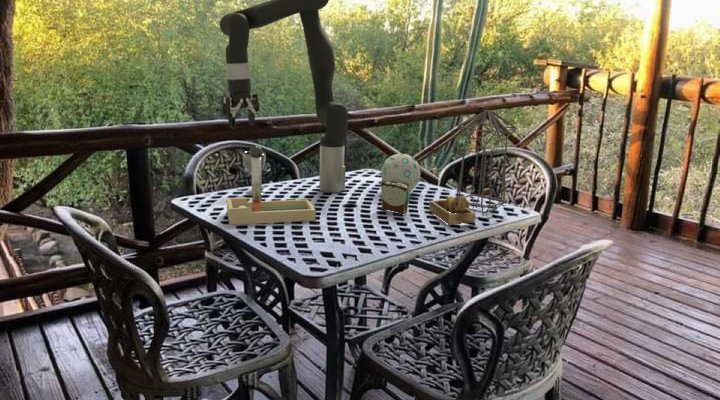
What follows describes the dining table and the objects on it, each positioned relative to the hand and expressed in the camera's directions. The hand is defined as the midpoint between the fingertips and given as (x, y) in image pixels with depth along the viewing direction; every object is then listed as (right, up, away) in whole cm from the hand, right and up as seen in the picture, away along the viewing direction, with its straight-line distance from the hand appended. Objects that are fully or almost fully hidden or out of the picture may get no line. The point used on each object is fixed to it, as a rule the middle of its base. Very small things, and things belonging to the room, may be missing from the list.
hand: (242, 126), depth 194 cm
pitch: (+10, -30, -9) cm, 33 cm away
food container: (+52, -28, +3) cm, 60 cm away
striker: (+7, -28, -10) cm, 30 cm away
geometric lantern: (+80, -30, +2) cm, 85 cm away
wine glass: (0, -22, +21) cm, 30 cm away
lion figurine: (+70, -31, -4) cm, 77 cm away
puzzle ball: (+55, -22, +28) cm, 65 cm away
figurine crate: (+69, -31, -4) cm, 76 cm away
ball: (+2, -28, -11) cm, 31 cm away
